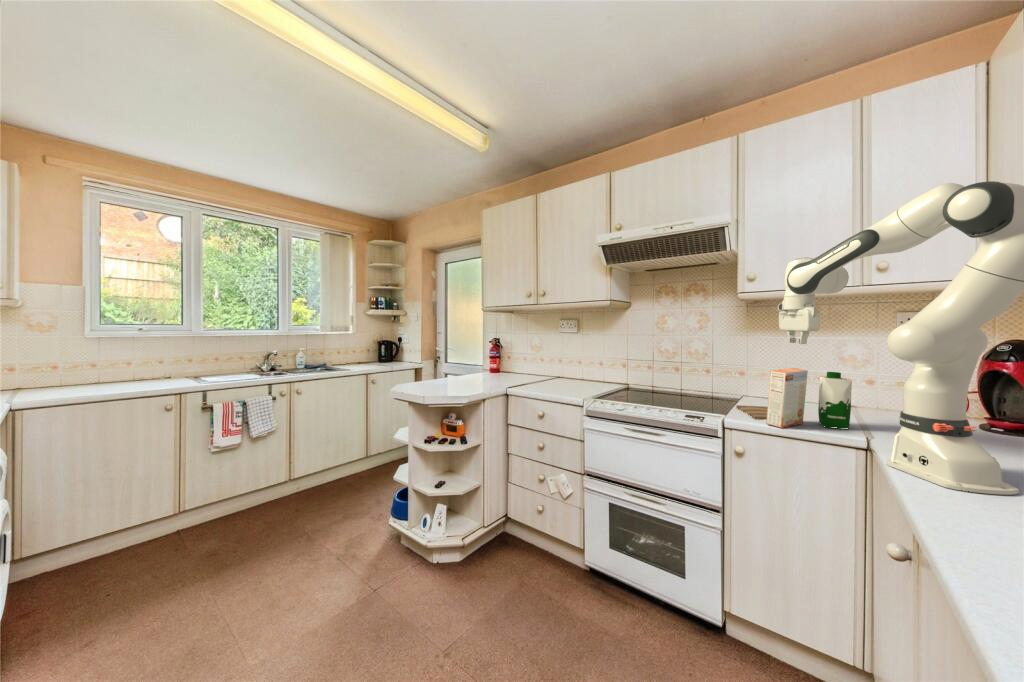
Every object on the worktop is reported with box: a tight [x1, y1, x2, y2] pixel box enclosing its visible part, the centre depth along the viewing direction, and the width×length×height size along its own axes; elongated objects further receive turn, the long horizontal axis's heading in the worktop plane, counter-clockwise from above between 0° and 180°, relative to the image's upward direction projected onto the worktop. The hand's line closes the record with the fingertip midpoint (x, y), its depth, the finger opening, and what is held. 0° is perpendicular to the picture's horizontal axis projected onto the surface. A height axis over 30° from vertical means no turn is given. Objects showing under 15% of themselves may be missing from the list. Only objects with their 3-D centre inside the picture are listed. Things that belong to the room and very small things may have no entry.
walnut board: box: [735, 405, 768, 420], centre depth 158 cm, size 20×16×1 cm
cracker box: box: [765, 367, 809, 429], centre depth 141 cm, size 14×6×21 cm, turn 115°
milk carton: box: [817, 371, 853, 430], centre depth 138 cm, size 9×9×20 cm
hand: (797, 343), depth 134 cm, fingers open, 5 cm apart
